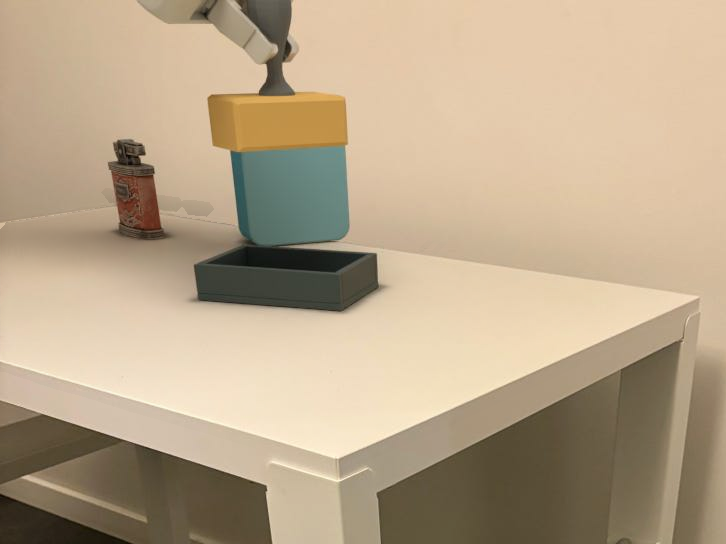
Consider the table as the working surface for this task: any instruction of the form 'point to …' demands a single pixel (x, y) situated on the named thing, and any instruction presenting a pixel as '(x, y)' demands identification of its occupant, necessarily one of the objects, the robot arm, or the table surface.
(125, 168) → the lighter
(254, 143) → the rubber stamp
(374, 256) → the holder
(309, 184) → the teal rounded flat block
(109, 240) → the table surface
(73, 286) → the table surface
